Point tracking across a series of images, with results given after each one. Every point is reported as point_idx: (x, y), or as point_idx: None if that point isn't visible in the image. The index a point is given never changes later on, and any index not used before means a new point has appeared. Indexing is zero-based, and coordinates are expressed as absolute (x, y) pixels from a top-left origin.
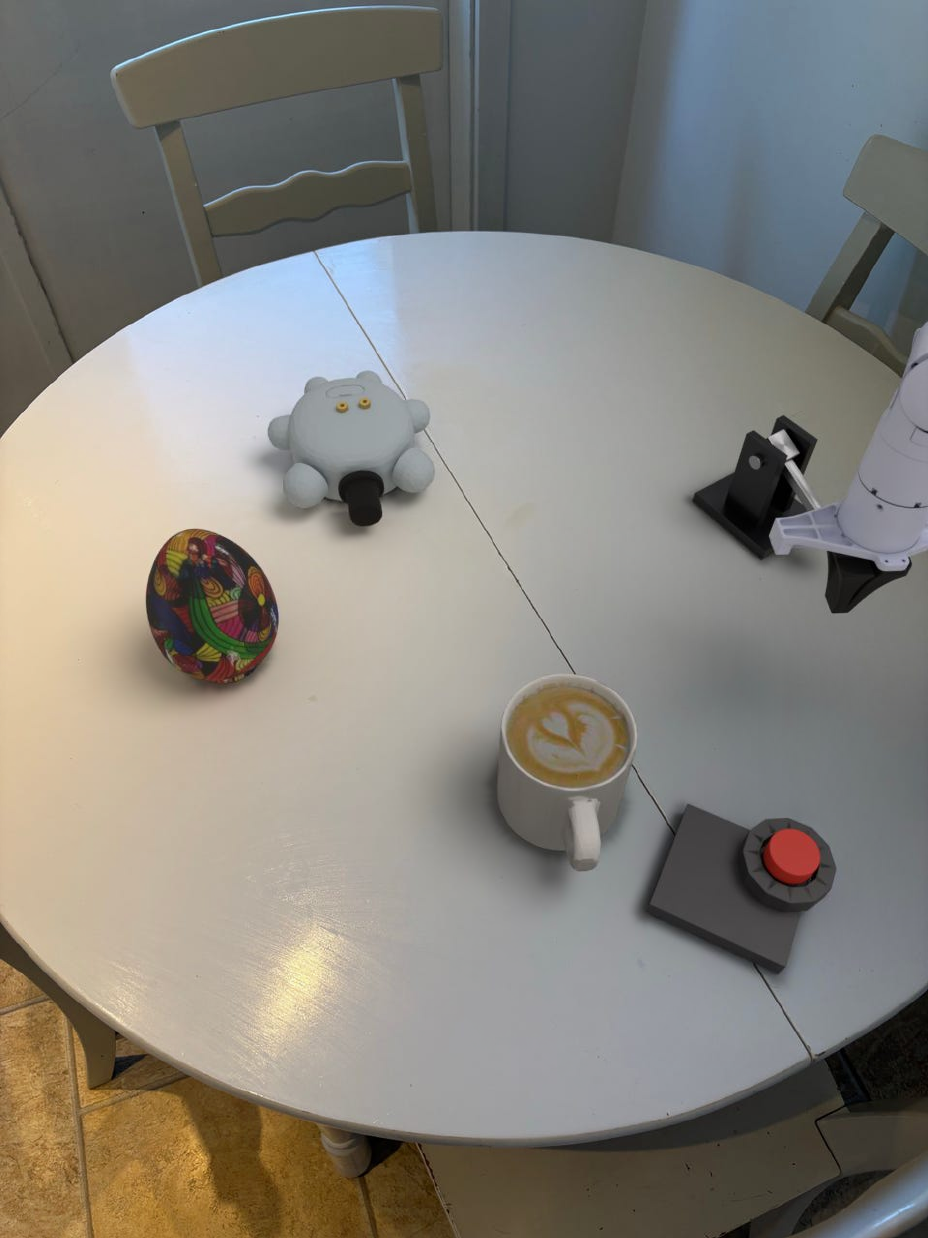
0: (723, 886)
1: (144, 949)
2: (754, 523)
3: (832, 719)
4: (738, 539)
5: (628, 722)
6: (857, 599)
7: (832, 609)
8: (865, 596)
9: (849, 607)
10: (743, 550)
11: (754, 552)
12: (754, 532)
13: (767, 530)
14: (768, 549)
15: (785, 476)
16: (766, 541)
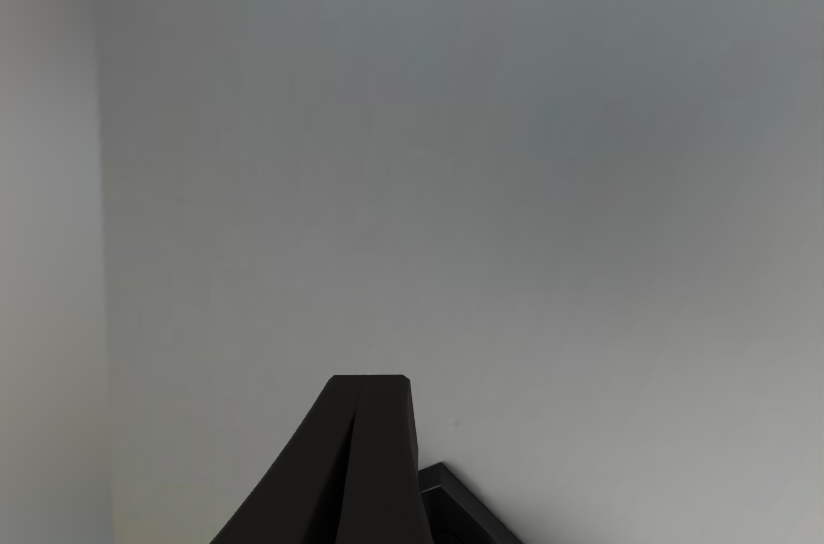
0: None
1: None
2: (451, 541)
3: (350, 20)
4: (480, 502)
5: None
6: (307, 470)
7: (408, 396)
8: (263, 492)
9: (337, 411)
10: (476, 481)
11: (454, 477)
12: (452, 522)
13: None
14: (431, 489)
15: None
16: (430, 504)
